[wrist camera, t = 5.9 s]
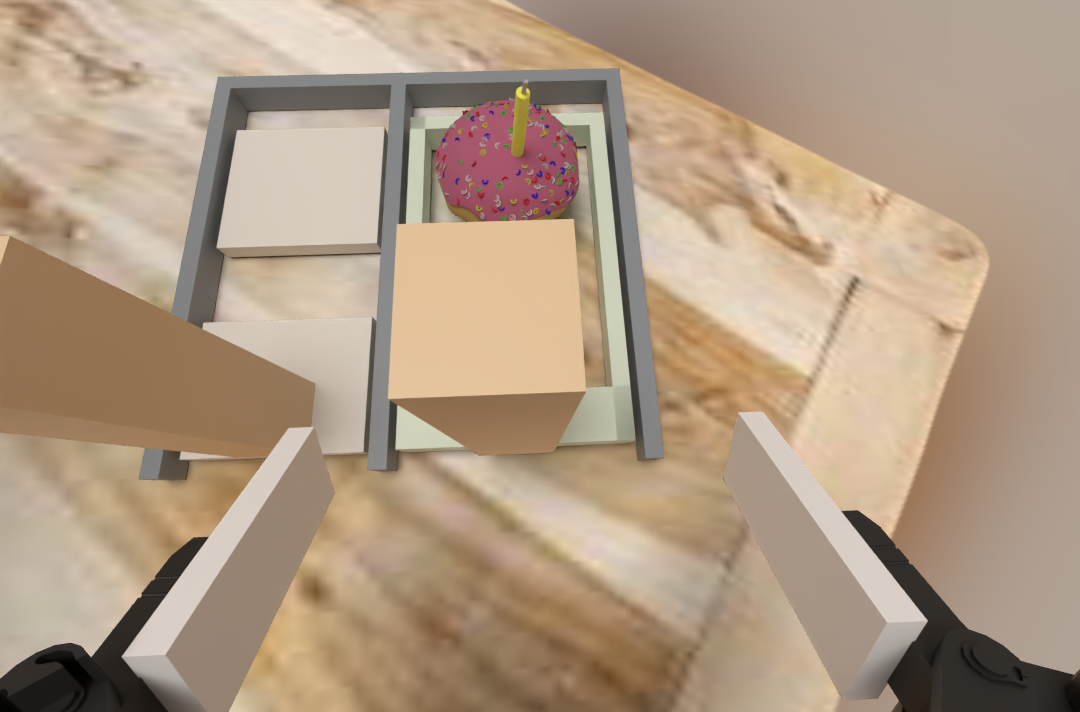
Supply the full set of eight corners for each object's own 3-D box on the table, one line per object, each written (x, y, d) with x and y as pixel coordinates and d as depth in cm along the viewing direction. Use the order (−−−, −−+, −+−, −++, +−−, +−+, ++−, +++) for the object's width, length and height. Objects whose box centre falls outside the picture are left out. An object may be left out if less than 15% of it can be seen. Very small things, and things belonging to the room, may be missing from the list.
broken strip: (370, 453, 26) (98, 394, 10) (195, 460, 26) (-382, 412, 10) (389, 139, 33) (241, -220, 16) (247, 143, 32) (-51, -218, 16)
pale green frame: (629, 451, 27) (804, 382, 9) (405, 461, 26) (159, 407, 9) (599, 134, 33) (671, -257, 16) (417, 138, 33) (287, -256, 15)
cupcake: (598, 223, 31) (637, 66, 20) (496, 291, 30) (473, 165, 18) (524, 139, 33) (519, -49, 22) (425, 199, 32) (362, 32, 20)
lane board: (654, 459, 27) (664, 457, 25) (167, 480, 26) (138, 479, 24) (614, 91, 34) (619, 68, 32) (236, 100, 34) (217, 77, 32)
